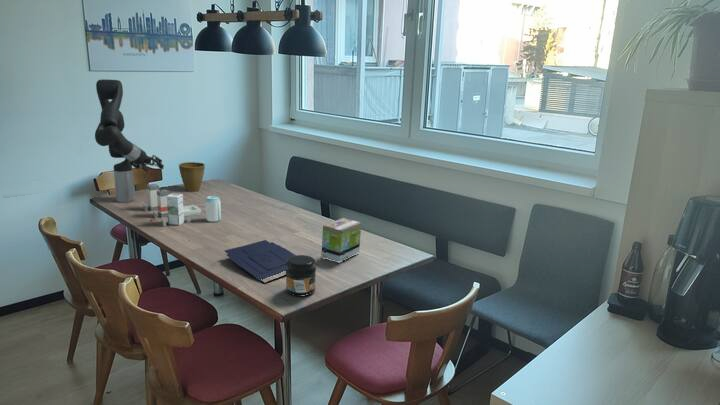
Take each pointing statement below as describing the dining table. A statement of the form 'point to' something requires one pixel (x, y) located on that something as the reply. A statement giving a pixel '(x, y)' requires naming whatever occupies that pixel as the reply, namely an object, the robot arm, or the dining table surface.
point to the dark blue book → (261, 258)
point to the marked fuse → (162, 202)
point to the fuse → (152, 196)
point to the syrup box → (175, 209)
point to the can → (213, 209)
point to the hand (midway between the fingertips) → (155, 168)
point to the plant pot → (192, 175)
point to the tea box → (341, 239)
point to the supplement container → (300, 275)
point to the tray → (191, 210)
